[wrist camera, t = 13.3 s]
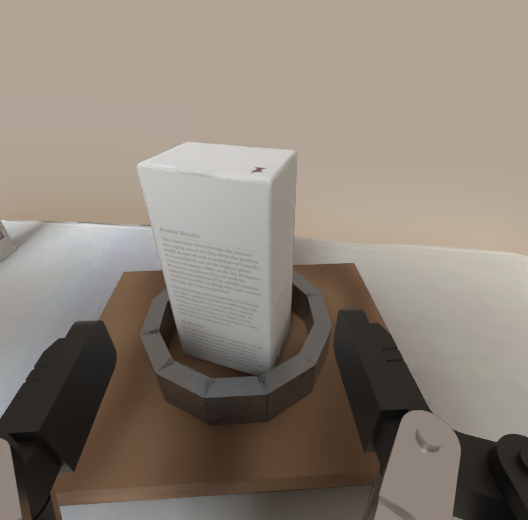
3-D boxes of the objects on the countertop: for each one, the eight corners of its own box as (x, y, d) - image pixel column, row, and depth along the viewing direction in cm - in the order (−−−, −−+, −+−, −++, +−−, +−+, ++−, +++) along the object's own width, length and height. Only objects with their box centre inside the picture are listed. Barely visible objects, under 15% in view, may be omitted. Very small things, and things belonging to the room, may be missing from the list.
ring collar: (129, 430, 15) (115, 402, 14) (171, 288, 24) (165, 263, 23) (344, 417, 16) (352, 389, 14) (308, 283, 25) (310, 257, 23)
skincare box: (291, 330, 21) (302, 149, 14) (271, 383, 18) (273, 181, 11) (211, 309, 23) (186, 138, 16) (179, 355, 19) (130, 163, 12)
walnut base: (21, 508, 14) (5, 496, 13) (128, 285, 27) (124, 271, 26) (445, 479, 15) (456, 465, 14) (351, 276, 28) (354, 263, 27)
